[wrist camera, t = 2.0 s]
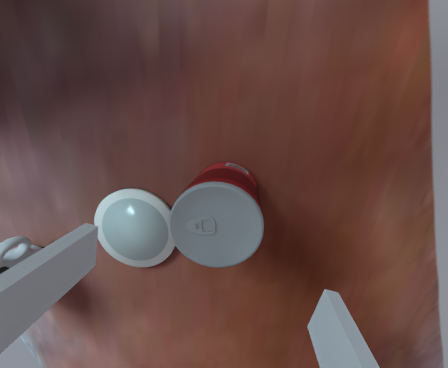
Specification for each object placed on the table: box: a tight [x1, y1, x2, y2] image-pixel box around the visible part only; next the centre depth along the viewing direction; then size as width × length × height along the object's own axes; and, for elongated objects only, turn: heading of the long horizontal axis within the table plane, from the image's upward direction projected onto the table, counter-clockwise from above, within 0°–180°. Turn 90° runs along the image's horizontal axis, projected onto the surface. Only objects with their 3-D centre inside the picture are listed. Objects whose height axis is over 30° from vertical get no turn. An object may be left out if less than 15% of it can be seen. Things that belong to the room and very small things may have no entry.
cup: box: [0, 236, 43, 268], centre depth 30 cm, size 11×8×8 cm
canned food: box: [169, 162, 264, 268], centre depth 23 cm, size 8×8×11 cm
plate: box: [94, 188, 175, 267], centre depth 30 cm, size 12×12×1 cm
